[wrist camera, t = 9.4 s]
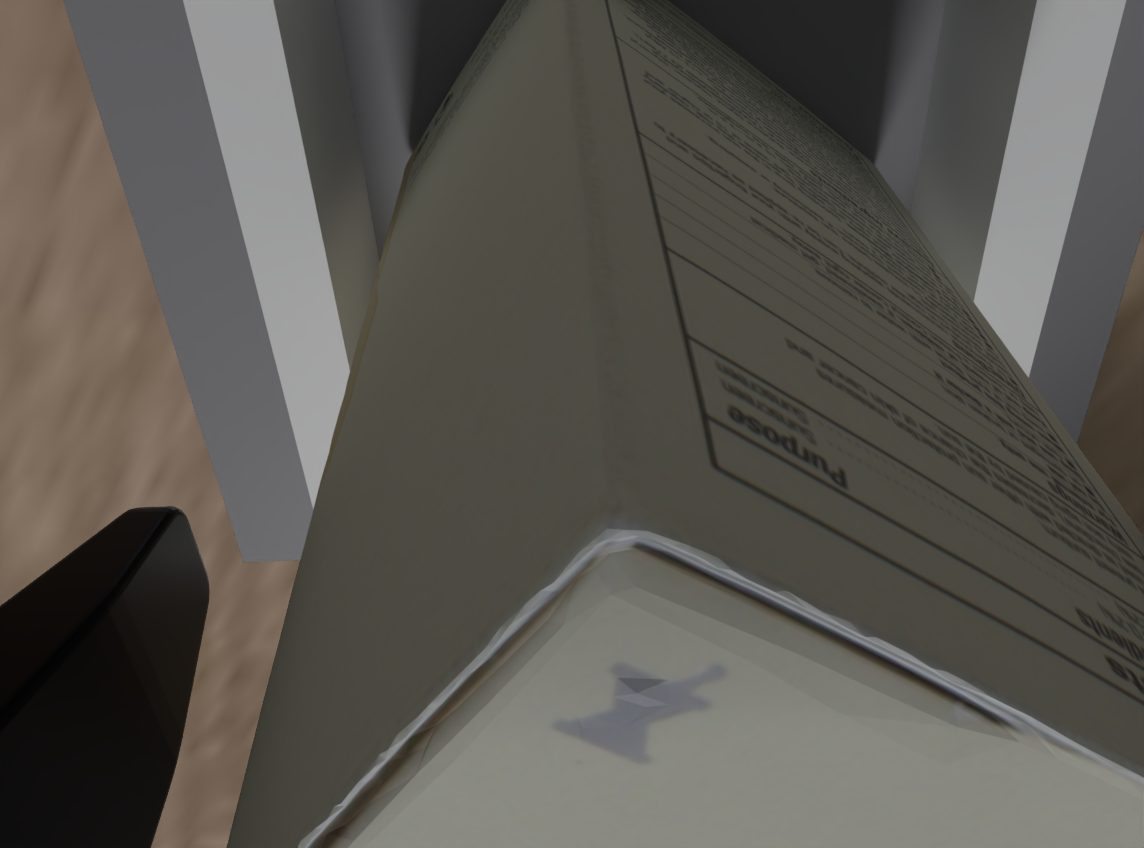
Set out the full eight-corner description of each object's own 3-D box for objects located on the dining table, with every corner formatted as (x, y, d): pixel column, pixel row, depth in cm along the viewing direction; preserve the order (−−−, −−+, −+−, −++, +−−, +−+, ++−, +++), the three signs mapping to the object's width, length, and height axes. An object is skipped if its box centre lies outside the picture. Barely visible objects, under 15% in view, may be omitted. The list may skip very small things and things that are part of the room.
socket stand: (256, 528, 21) (200, 680, 18) (-58, -505, 12) (-293, -576, 9) (1031, 498, 21) (1117, 647, 18) (1340, -590, 12) (1645, -698, 8)
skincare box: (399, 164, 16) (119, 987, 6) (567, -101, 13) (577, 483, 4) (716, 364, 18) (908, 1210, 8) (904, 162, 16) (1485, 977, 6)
